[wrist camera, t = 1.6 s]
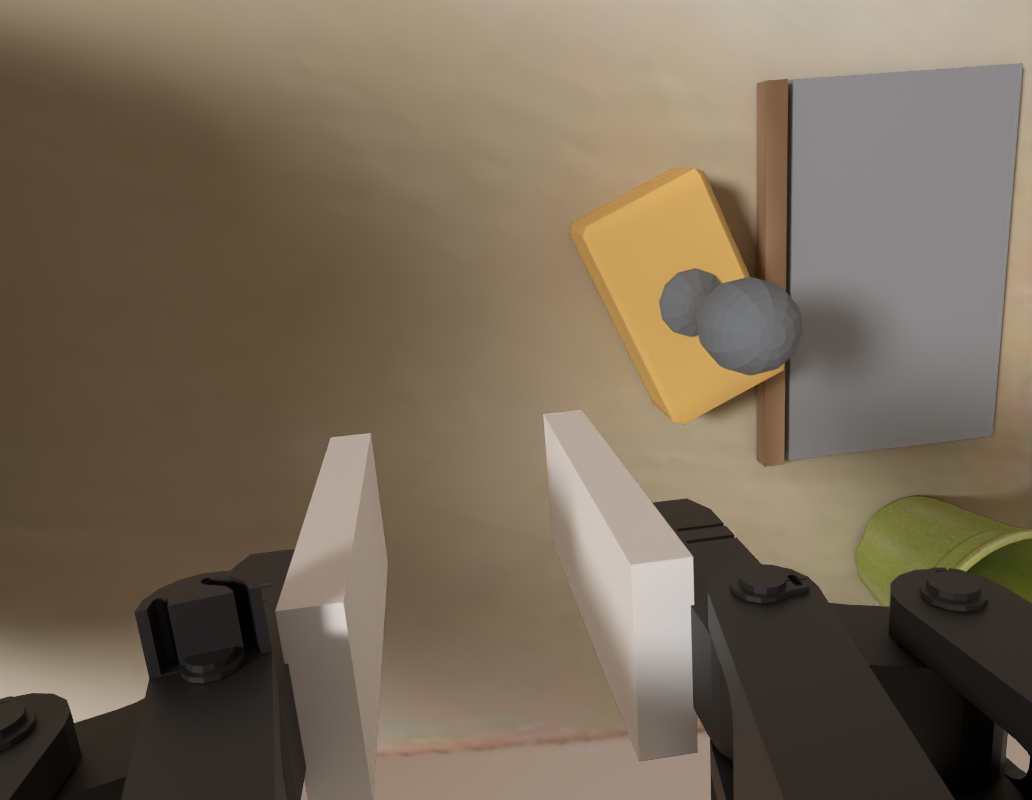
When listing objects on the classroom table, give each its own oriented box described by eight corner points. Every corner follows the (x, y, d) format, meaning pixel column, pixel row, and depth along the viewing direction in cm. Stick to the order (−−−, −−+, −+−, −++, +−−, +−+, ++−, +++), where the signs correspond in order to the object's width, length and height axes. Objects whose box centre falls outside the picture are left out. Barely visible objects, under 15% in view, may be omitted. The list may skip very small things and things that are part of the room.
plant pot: (953, 431, 42) (1086, 491, 34) (1012, 569, 45) (1148, 656, 37) (797, 522, 43) (891, 604, 34) (864, 654, 45) (967, 760, 37)
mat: (783, 456, 42) (789, 460, 41) (787, 81, 37) (793, 79, 36) (984, 432, 43) (992, 436, 42) (1013, 65, 38) (1022, 63, 37)
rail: (756, 459, 41) (764, 466, 40) (756, 83, 37) (766, 80, 36) (775, 457, 42) (784, 464, 41) (778, 81, 37) (788, 79, 36)
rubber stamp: (758, 352, 40) (897, 418, 29) (654, 408, 40) (752, 497, 29) (675, 166, 37) (794, 156, 26) (564, 226, 37) (633, 244, 26)
